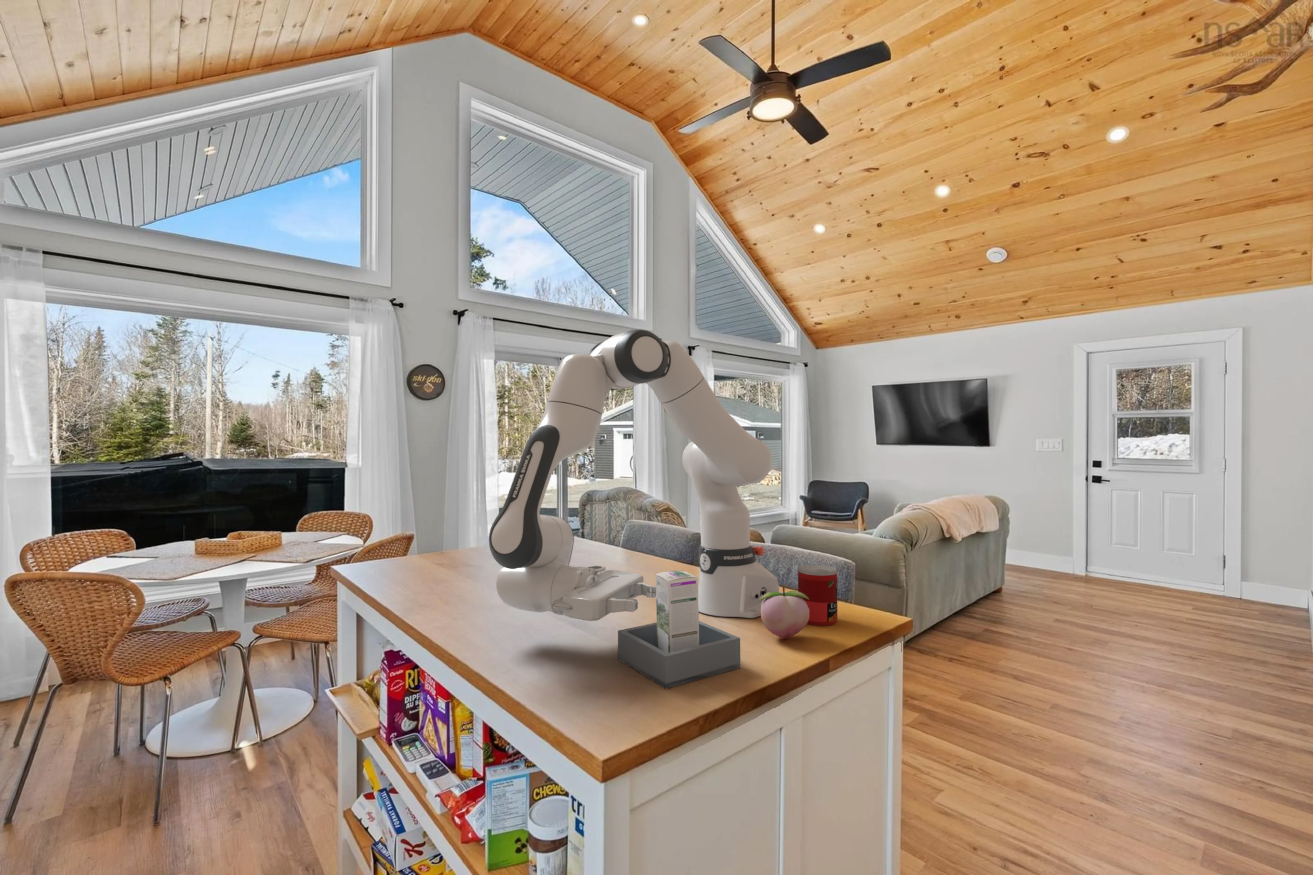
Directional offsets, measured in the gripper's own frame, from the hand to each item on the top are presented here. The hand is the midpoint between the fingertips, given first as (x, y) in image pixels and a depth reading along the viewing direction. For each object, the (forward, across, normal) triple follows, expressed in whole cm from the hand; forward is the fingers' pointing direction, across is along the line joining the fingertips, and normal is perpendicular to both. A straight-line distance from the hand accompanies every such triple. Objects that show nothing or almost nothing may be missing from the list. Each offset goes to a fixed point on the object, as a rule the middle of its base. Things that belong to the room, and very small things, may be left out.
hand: (647, 598), depth 104 cm
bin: (+6, 0, +11) cm, 12 cm away
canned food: (+25, +33, +11) cm, 43 cm away
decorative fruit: (+20, +19, +11) cm, 30 cm away
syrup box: (+6, 0, +10) cm, 11 cm away
